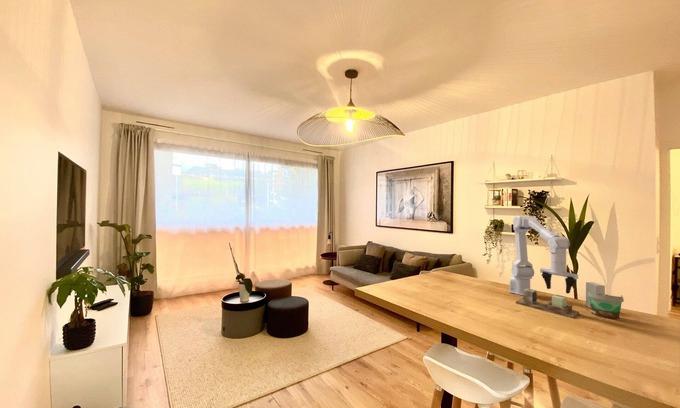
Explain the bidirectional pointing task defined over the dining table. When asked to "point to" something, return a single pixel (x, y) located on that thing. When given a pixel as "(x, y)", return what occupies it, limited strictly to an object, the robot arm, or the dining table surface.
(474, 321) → the dining table surface
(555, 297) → the green block
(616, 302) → the food container
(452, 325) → the dining table surface
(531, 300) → the brown fixture base
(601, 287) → the skincare box
